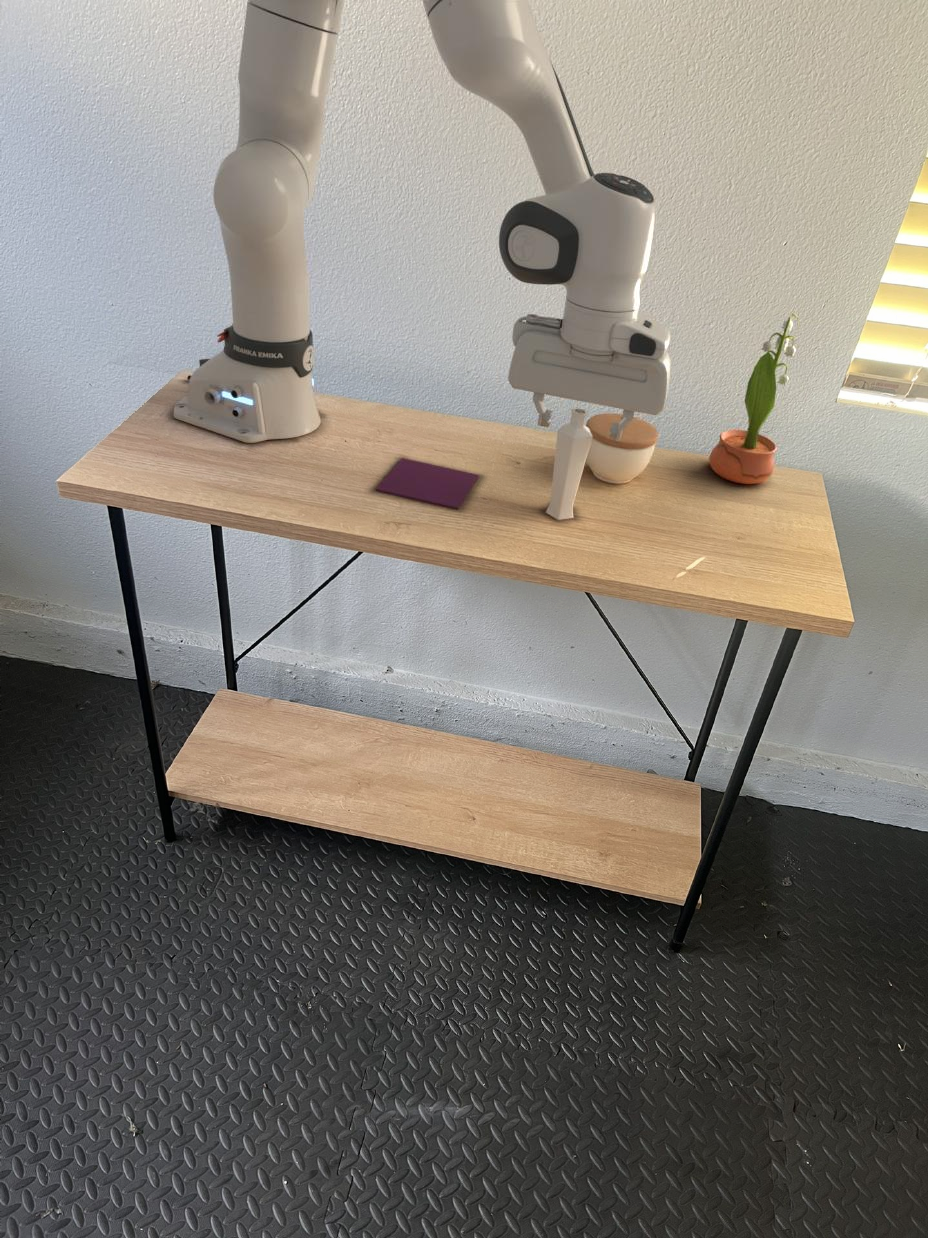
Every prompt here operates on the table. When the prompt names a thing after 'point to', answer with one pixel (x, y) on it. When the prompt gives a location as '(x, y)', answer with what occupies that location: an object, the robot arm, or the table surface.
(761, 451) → the potted flower
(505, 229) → the robot arm
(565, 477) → the white faceted vase
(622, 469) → the trinket box
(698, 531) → the table surface
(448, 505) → the cloth
